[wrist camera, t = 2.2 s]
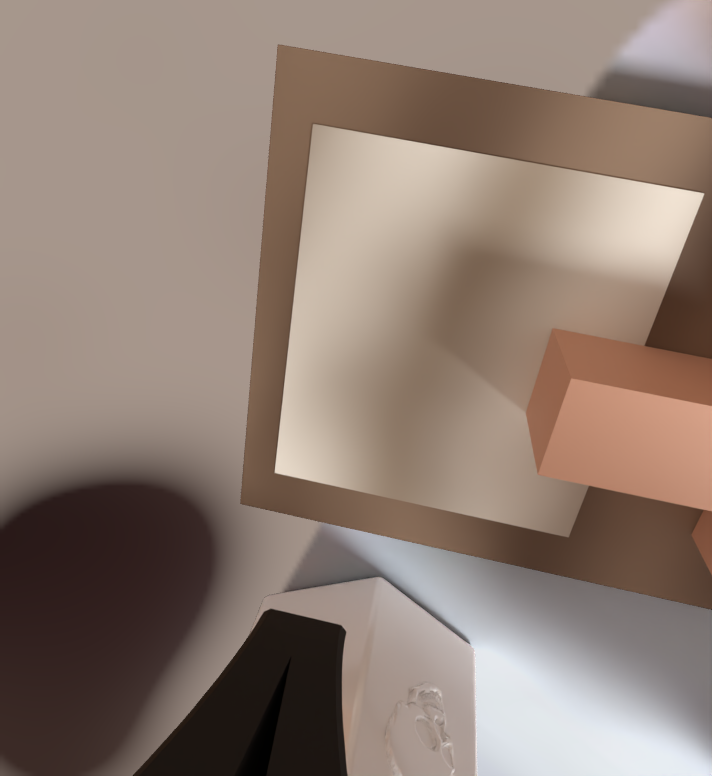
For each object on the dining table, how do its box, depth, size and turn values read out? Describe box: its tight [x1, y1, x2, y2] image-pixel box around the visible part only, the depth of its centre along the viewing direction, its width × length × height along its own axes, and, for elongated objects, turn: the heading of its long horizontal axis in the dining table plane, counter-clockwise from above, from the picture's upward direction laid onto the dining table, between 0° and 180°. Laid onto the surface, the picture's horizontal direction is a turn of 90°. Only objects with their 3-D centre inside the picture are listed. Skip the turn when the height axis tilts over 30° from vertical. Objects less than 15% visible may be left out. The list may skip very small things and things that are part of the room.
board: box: [241, 45, 712, 610], centre depth 17 cm, size 20×13×1 cm, turn 82°
